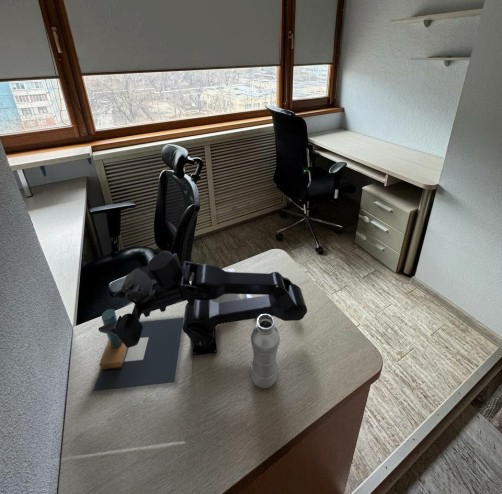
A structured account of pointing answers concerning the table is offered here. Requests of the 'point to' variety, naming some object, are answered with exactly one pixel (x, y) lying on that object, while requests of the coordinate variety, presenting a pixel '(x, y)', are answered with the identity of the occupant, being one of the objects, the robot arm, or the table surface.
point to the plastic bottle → (264, 352)
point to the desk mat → (147, 357)
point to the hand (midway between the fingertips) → (107, 312)
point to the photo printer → (227, 296)
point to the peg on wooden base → (112, 346)
